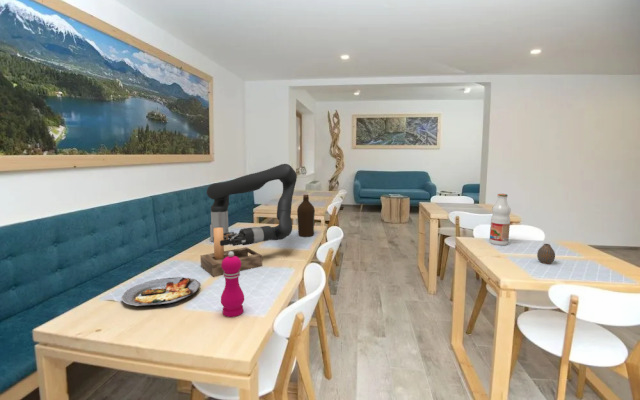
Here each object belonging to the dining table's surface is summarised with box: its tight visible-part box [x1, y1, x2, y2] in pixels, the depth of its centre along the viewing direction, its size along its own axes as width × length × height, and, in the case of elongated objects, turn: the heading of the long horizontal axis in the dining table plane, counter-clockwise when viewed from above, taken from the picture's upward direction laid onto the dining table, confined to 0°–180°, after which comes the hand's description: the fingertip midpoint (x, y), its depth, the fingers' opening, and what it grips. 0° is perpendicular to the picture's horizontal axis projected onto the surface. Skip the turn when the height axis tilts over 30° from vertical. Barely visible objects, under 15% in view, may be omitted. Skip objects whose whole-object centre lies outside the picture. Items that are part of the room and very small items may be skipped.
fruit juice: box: [489, 193, 512, 246], centre depth 188 cm, size 9×9×28 cm
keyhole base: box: [200, 246, 263, 278], centre depth 150 cm, size 22×16×5 cm
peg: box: [213, 227, 225, 260], centre depth 146 cm, size 8×8×18 cm
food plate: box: [120, 276, 201, 307], centre depth 120 cm, size 25×23×4 cm
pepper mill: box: [220, 251, 245, 318], centre depth 106 cm, size 7×7×20 cm
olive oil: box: [296, 194, 315, 238], centre depth 206 cm, size 11×11×25 cm
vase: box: [536, 243, 556, 265], centre depth 156 cm, size 7×7×9 cm
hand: (216, 241), depth 145 cm, fingers open, 8 cm apart
